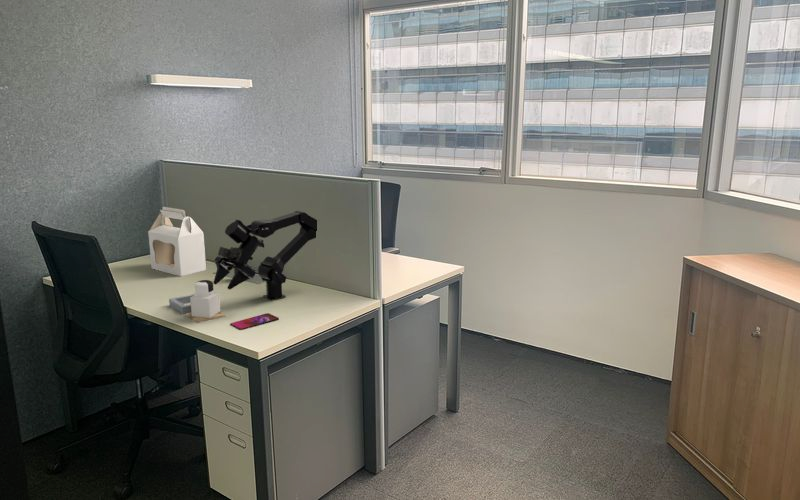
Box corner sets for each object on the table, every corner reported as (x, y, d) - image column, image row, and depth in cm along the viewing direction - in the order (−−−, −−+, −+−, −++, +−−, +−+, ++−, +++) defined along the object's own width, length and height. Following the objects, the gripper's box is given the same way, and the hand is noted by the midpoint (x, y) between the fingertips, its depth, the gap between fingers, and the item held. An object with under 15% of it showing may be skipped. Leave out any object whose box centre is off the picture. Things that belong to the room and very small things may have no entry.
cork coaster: (225, 316, 208) (225, 315, 208) (197, 322, 202) (197, 321, 201) (212, 309, 215) (212, 307, 215) (185, 315, 209) (185, 313, 209)
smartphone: (229, 323, 200) (267, 312, 210) (229, 325, 200) (268, 315, 210) (240, 329, 195) (280, 318, 205) (240, 331, 195) (280, 320, 205)
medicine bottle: (202, 310, 213) (200, 277, 210) (220, 311, 211) (218, 279, 208) (191, 316, 206) (188, 283, 203) (209, 318, 204) (207, 285, 202)
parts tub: (216, 306, 218) (216, 300, 217) (183, 314, 210) (182, 307, 209) (202, 298, 227) (202, 292, 227) (169, 305, 219) (169, 298, 219)
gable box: (151, 268, 269) (145, 207, 263) (176, 263, 280) (171, 204, 273) (181, 276, 257) (176, 212, 250) (206, 270, 267) (202, 208, 261)
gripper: (216, 234, 217) (191, 269, 212) (245, 241, 205) (219, 279, 200) (237, 251, 225) (213, 285, 219) (266, 259, 212) (241, 296, 207)
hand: (221, 286), depth 211 cm, fingers open, 9 cm apart
